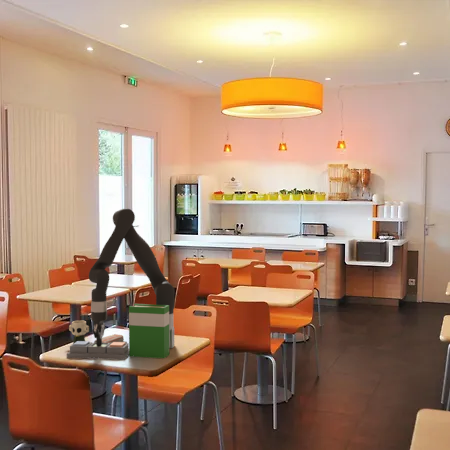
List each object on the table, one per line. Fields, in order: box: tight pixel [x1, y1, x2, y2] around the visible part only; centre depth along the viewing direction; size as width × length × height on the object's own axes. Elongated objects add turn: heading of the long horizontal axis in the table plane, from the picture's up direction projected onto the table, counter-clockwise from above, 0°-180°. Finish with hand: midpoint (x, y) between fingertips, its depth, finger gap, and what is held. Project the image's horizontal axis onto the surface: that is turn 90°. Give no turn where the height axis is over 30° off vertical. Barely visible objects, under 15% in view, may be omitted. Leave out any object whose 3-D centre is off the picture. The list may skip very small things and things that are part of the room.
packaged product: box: [93, 333, 128, 344], centre depth 301 cm, size 18×5×10 cm
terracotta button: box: [110, 341, 126, 347], centre depth 282 cm, size 6×6×2 cm
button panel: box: [66, 341, 129, 360], centre depth 283 cm, size 28×12×5 cm, turn 85°
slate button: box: [72, 340, 90, 346], centre depth 284 cm, size 6×6×2 cm
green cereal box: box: [128, 303, 170, 359], centre depth 282 cm, size 18×7×24 cm, turn 77°
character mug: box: [68, 320, 90, 344], centre depth 298 cm, size 11×7×13 cm, turn 75°
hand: (99, 345), depth 283 cm, fingers closed
